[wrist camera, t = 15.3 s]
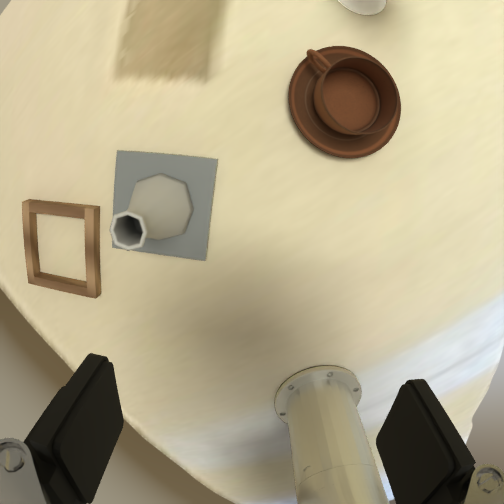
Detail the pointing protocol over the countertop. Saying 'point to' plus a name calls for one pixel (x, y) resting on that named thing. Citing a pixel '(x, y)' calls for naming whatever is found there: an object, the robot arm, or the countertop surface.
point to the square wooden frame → (91, 246)
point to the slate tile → (200, 189)
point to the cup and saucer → (344, 101)
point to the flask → (153, 212)
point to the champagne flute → (364, 6)
